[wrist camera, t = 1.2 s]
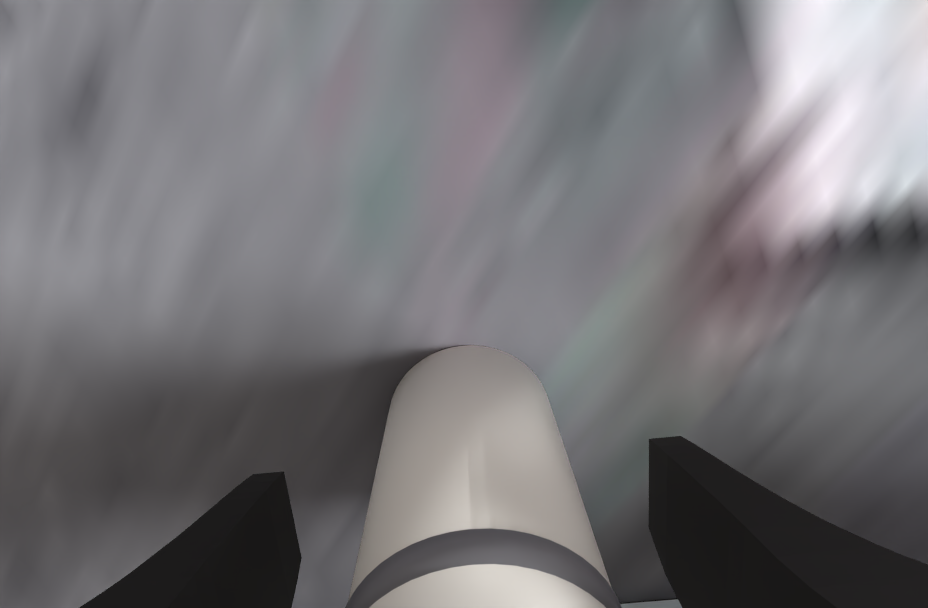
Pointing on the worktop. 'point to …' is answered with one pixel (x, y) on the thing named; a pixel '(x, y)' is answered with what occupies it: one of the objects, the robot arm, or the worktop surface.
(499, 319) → the worktop surface
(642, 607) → the plate
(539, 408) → the tube
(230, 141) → the worktop surface
